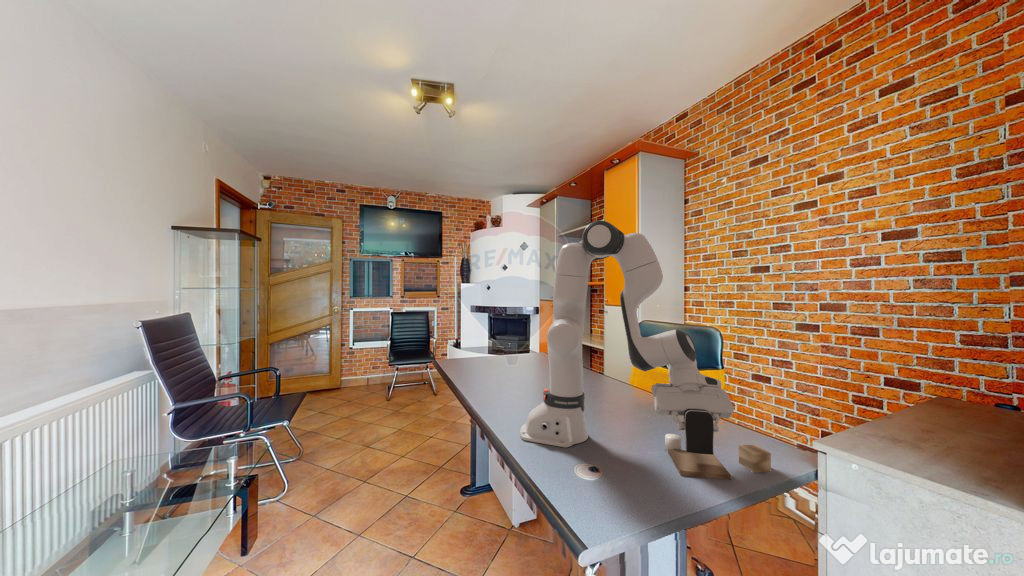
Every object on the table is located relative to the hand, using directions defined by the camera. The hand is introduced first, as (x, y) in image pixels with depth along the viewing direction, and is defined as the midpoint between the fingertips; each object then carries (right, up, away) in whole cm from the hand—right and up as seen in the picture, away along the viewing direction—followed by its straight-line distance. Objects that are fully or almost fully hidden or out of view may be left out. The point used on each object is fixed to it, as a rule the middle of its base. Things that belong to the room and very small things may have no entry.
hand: (698, 430), depth 92 cm
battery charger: (0, -6, +1) cm, 6 cm away
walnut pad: (0, -10, +1) cm, 10 cm away
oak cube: (+15, -10, 0) cm, 18 cm away
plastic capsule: (-2, -10, +10) cm, 14 cm away
